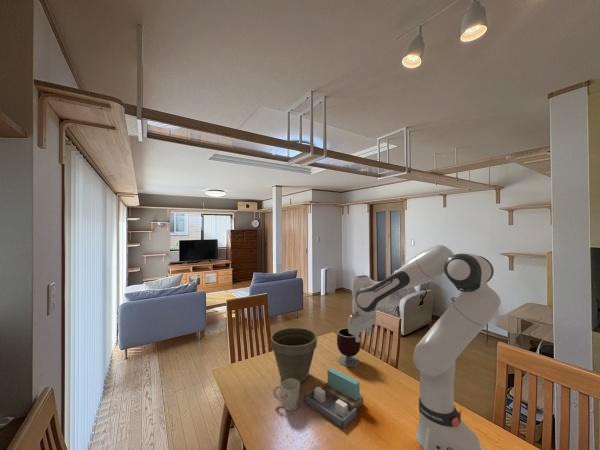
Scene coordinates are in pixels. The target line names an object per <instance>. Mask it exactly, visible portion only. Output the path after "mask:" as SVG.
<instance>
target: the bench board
mask: <svg viewBox="0 0 600 450" xmlns="http://www.w3.org/2000/svg"><path fill="white" fill-rule="evenodd" d="M320 388H321V389H323V390H325V396H327V397H329V398H330V399H332V400H334V401H335V402H336V401H337V400H338V399H340V400H341V401H343V402H345V403H346V404H348V410H350V411H352V410H353V409H354V408H356V409H357V411H358V410H359V409H360V408H361V407H362V406H363V405H364V396H363V395H361V394H360V397H359V398H358V399H357V400H354V399H352V398H351V397H349V396H347V395H345V394H343V393H342V392H340V391H338V390H336V389H334V388H333V387H331V386H329V385H328V382H326V383H324V384H323V385H322V386H320Z"/></svg>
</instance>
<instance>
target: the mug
mask: <svg viewBox="0 0 600 450" xmlns="http://www.w3.org/2000/svg"><path fill="white" fill-rule="evenodd" d="M300 387H301V383H300V382H299V381H298V380H296V379H293V378H290V379H286V380H284V381H283V380H282V381H281V384H280V385H276V386H275V387H273V390H272V394H273V397H274V398H275V399H276V400H277V401H278V402H279V401H280V402H283V407H284V409H285V410H286V411H288V412H293V411H296V410H297V409H298V406H299V397H300ZM279 389H281V392H282V393H281V394H282V398H280V397H279V396H278V395H277V390H279Z"/></svg>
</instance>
